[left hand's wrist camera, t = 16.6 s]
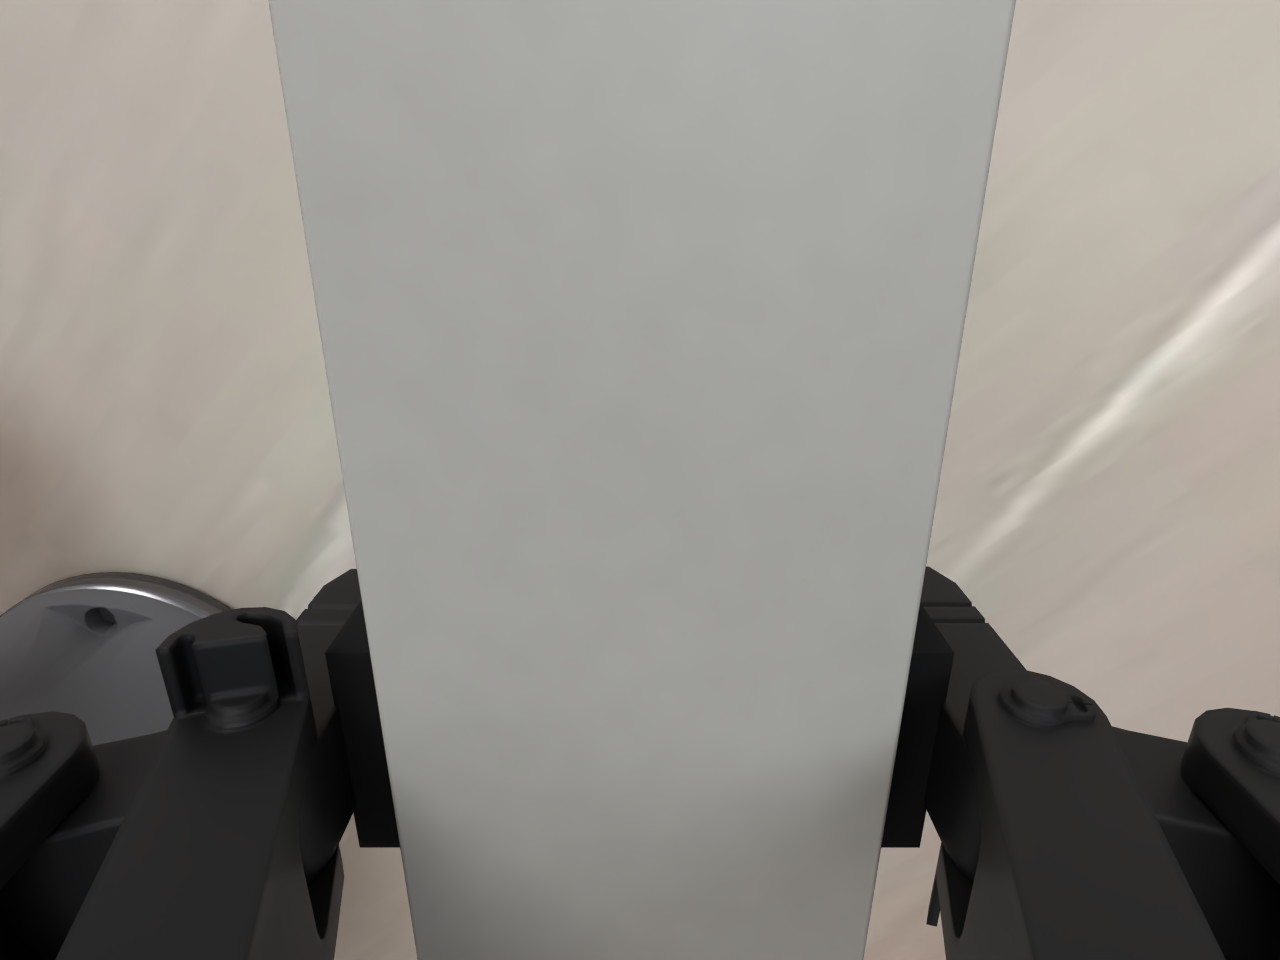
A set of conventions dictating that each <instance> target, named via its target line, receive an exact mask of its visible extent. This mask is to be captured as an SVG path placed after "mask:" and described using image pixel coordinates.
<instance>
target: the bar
mask: <svg viewBox="0 0 1280 960" xmlns="http://www.w3.org/2000/svg"><path fill="white" fill-rule="evenodd" d="M1015 2H1016V0H269V7H270V13H271V20H272V26H273V33H274V39H275V45H276V52H277V58H278V65H279V71H280V78H281V84H282V90H283V97H284V103H285V110H286V116H287V122H288V129H289V135H290V142H291V148H292V155H293V161H294V167H295V174H296V180H297V187H298V193H299V200H300V206H301V212H302V219H303V225H304V232H305V238H306V245H307V251H308V257H309V264H310V270H311V277H312V283H313V290H314V296H315V302H316V309H317V315H318V322H319V328H320V335H321V341H322V347H323V354H324V360H325V367H326V373H327V380H328V386H329V392H330V399H331V405H332V412H333V418H334V425H335V431H336V437H337V444H338V450H339V457H340V463H341V469H342V476H343V482H344V489H345V495H346V502H347V508H348V514H349V521H350V527H351V534H352V540H353V547H354V553H355V559H356V566H357V572H358V579H359V585H360V592H361V598H362V604H363V611H364V617H365V624H366V630H367V637H368V643H369V649H370V656H371V662H372V669H373V675H374V682H375V688H376V694H377V701H378V707H379V714H380V720H381V727H382V733H383V739H384V746H385V752H386V759H387V765H388V772H389V778H390V784H391V791H392V797H393V804H394V810H395V817H396V823H397V829H398V836H399V842H400V849H401V855H402V861H403V868H404V874H405V881H406V887H407V894H408V900H409V906H410V913H411V919H412V926H413V932H414V939H415V945H416V951H417V958H418V960H863V958H864V951H865V945H866V939H867V932H868V926H869V920H870V914H871V907H872V901H873V895H874V888H875V882H876V876H877V870H878V863H879V857H880V851H881V844H882V838H883V832H884V826H885V819H886V813H887V807H888V800H889V794H890V788H891V782H892V775H893V769H894V763H895V756H896V750H897V744H898V738H899V731H900V725H901V719H902V712H903V706H904V700H905V694H906V687H907V681H908V675H909V668H910V662H911V656H912V650H913V643H914V637H915V631H916V624H917V618H918V612H919V606H920V599H921V593H922V587H923V580H924V574H925V568H926V562H927V555H928V549H929V543H930V536H931V530H932V524H933V518H934V511H935V505H936V499H937V493H938V486H939V480H940V474H941V467H942V461H943V455H944V449H945V442H946V436H947V430H948V423H949V417H950V411H951V405H952V398H953V392H954V386H955V379H956V373H957V367H958V361H959V354H960V348H961V342H962V335H963V329H964V323H965V317H966V310H967V304H968V298H969V291H970V285H971V279H972V273H973V266H974V260H975V254H976V247H977V241H978V235H979V229H980V222H981V216H982V210H983V203H984V197H985V191H986V185H987V178H988V172H989V166H990V159H991V153H992V147H993V141H994V134H995V128H996V122H997V115H998V109H999V103H1000V97H1001V90H1002V84H1003V78H1004V71H1005V65H1006V59H1007V53H1008V46H1009V40H1010V34H1011V27H1012V21H1013V15H1014V9H1015Z"/></svg>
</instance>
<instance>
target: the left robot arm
mask: <svg viewBox="0 0 1280 960" xmlns="http://www.w3.org/2000/svg"><path fill="white" fill-rule="evenodd" d="M926 809H927V811H928V814H929V816H930V818H931V820H932V822H933V824H934V826H935V829H936V831H937V833H938V835H939V837H940V839H941V841H942V842H941V847H940V853H939V858H938V863H937V868H936V873H935V879H934V884H933V889H932V894H931V899H930V904H929V910H928V917H927V924H928V925H932V926H937V923H938V918H939V913H940V912H941V920H942V928H943V936H944V944H945V952H946V960H1280V717H1277V716H1274V717H1273V716H1270V714H1267V713H1262V712H1258V711H1249V710H1241V709H1233V708H1223V709H1215V710H1208V711H1206V712H1204V713H1203V714H1202V715H1200V716H1199V717H1198V718H1196V719H1195V722H1194V725H1193V728H1192V731H1191V734H1190V737H1189V740H1188V743H1187V742H1182V741H1178V740H1173V739H1168V738H1163V737H1158V736H1153V735H1148V734H1143V733H1138V732H1133V731H1128V730H1124V729H1120V728H1116V727H1112V726H1111V724H1110V722H1109V720H1108V718H1107V716H1106V715H1105V714H1104V712H1103V711H1102V710H1101V709H1100V707H1099V706H1098V705H1097V704H1096V702H1095V701H1094V700H1093V699H1091V698H1090V697H1088V696H1087V695H1085V694H1084V693H1083V692H1081V691H1080V690H1078V689H1077V688H1075V687H1074V686H1072V685H1069V684H1067V683H1065V682H1062V681H1060V680H1058V679H1056V678H1053V677H1051V676H1048V675H1044V674H1039V673H1035V672H1031V671H1027V670H1026V669H1025V668H1024V666H1023V665H1022V664H1021V663H1020V661H1019V660H1018V659H1017V658H1016V657H1015V655H1014V654H1013V653H1012V652H1011V650H1010V649H1009V648H1008V647H1007V645H1006V644H1005V643H1004V642H1003V641H1002V639H1001V638H1000V637H999V636H998V634H997V633H996V632H995V631H994V630H993V628H992V627H991V626H990V625H989V623H985V618H984V617H983V616H982V615H981V614H980V612H979V611H978V610H977V609H976V607H972V603H971V601H970V600H969V599H968V598H967V596H966V595H965V594H964V593H963V591H962V590H961V589H960V588H959V587H958V585H957V584H956V583H955V582H953V581H951V580H950V579H948V578H946V577H945V576H943V575H941V574H940V573H938V572H937V571H935V570H933V569H932V568H930V567H926V568H925V574H924V580H923V587H922V593H921V599H920V606H919V612H918V618H917V624H916V631H915V637H914V643H913V650H912V656H911V662H910V668H909V675H908V681H907V687H906V694H905V700H904V706H903V712H902V719H901V725H900V731H899V738H898V744H897V750H896V756H895V763H894V769H893V775H892V782H891V788H890V794H889V800H888V807H887V813H886V819H885V826H884V832H883V838H882V844H881V847H920V842H921V837H922V831H923V825H924V820H925V814H926ZM353 812H354V817H355V823H356V829H357V834H358V840H359V845H360V847H400V842H399V836H398V829H397V823H396V817H395V810H394V804H393V797H392V791H391V784H390V778H389V772H388V765H387V759H386V752H385V746H384V739H383V733H382V727H381V720H380V714H379V707H378V701H377V694H376V688H375V682H374V675H373V669H372V662H371V656H370V649H369V643H368V637H367V630H366V624H365V617H364V611H363V604H362V598H361V592H360V585H359V579H358V572H357V569H350V570H349V571H347V572H345V573H344V574H342V575H341V576H339V577H337V578H336V579H334V580H333V581H331V582H329V583H328V584H326V585H324V586H323V588H322V589H321V590H320V591H319V593H318V594H317V595H316V596H315V597H314V599H313V600H312V601H311V602H310V604H309V605H308V609H305V610H304V611H303V612H302V614H301V615H300V616H299V617H298V619H297V620H295V619H294V618H293V617H292V616H290V615H289V614H288V613H286V612H285V611H281V610H276V609H272V608H267V607H259V608H240V609H235V610H232V609H230V608H229V607H227V606H225V605H224V604H222V603H220V602H219V601H217V600H215V599H213V598H211V597H209V596H207V595H205V594H203V593H201V592H199V591H197V590H194V589H192V588H189V587H187V586H184V585H181V584H178V583H175V582H172V581H169V580H165V579H161V578H157V577H153V576H147V575H140V574H134V573H120V572H108V573H93V574H85V575H80V576H75V577H70V578H67V579H64V580H60V581H57V582H55V583H53V584H50V585H48V586H46V587H43V588H42V589H40V590H38V591H37V592H35V593H33V594H31V595H30V596H28V597H27V598H25V599H24V600H22V601H21V602H19V603H18V604H16V605H15V606H13V607H12V608H10V609H9V610H7V611H6V612H5V613H3V614H2V615H1V616H0V960H334V954H335V946H336V938H337V930H338V922H339V914H340V906H341V898H342V890H343V882H344V871H343V864H342V858H341V853H340V847H339V842H340V840H341V838H342V835H343V833H344V831H345V829H346V827H347V825H348V823H349V820H350V818H351V816H352V814H353Z"/></svg>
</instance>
